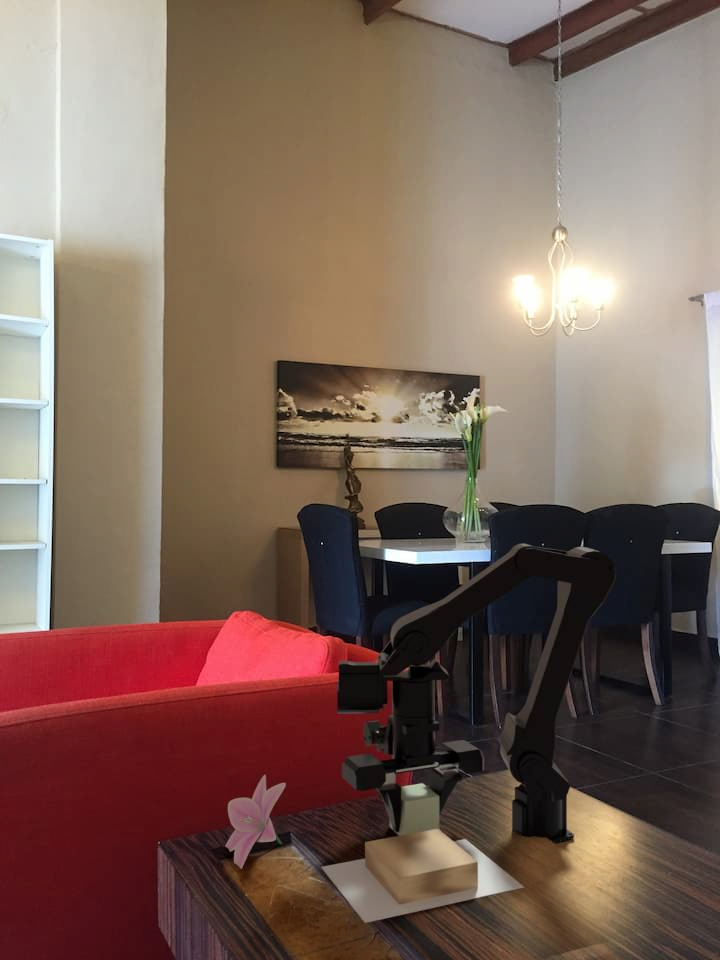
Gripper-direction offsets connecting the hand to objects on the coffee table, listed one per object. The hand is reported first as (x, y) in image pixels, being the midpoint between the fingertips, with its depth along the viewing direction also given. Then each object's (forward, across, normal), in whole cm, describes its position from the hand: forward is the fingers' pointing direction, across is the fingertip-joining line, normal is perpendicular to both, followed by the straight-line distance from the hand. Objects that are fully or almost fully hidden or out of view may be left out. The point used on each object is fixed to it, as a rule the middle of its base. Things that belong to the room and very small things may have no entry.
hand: (414, 827), depth 117 cm
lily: (+2, +21, -3) cm, 22 cm away
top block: (+1, 0, 0) cm, 1 cm away
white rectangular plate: (+1, +5, +12) cm, 13 cm away
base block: (0, +5, +12) cm, 13 cm away
